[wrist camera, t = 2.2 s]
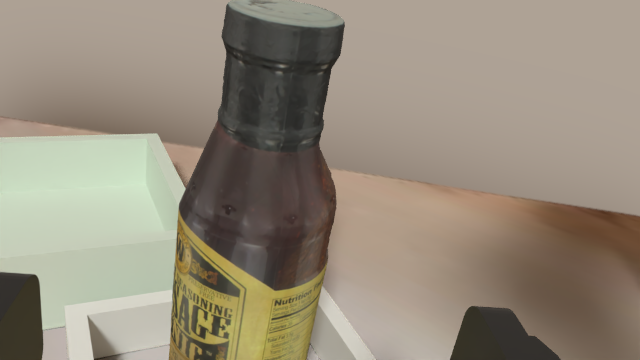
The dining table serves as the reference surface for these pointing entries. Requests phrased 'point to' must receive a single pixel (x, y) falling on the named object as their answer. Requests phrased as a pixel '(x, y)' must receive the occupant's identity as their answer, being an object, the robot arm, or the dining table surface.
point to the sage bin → (88, 217)
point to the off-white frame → (155, 327)
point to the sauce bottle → (259, 192)
